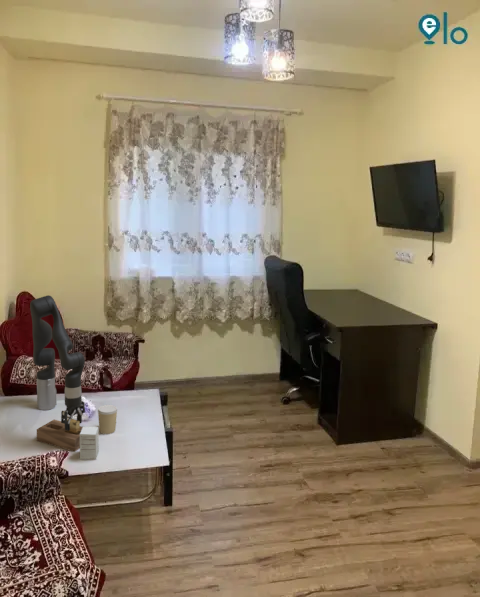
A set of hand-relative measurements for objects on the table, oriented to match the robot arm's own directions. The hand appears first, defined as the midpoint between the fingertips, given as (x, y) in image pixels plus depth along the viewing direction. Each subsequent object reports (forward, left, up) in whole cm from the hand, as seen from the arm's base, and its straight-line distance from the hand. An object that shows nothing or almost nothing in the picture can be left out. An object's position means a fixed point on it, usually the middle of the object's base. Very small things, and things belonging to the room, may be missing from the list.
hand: (73, 426), depth 246 cm
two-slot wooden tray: (0, -6, -9) cm, 10 cm away
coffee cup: (-18, +6, -9) cm, 21 cm away
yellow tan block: (0, 0, -7) cm, 7 cm away
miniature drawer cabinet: (+6, +14, -9) cm, 17 cm away
